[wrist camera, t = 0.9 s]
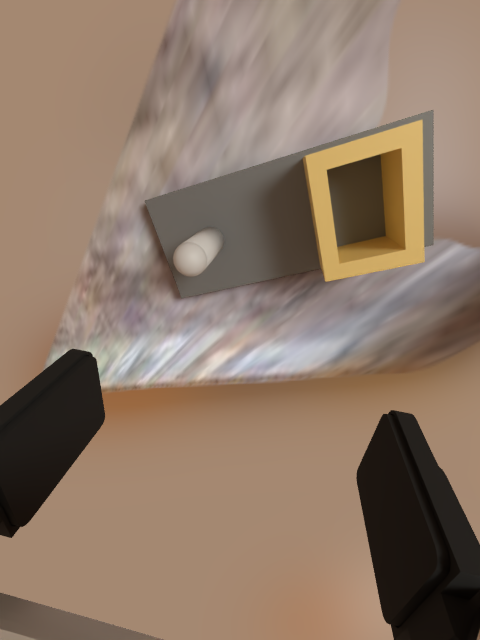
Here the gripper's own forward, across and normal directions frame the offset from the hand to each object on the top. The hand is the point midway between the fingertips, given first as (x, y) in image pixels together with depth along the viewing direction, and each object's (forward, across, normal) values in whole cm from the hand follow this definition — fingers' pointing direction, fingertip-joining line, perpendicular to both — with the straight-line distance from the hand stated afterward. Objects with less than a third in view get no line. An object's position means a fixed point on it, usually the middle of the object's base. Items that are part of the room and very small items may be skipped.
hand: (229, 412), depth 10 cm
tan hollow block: (+21, -6, -5) cm, 22 cm away
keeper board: (+22, 0, -3) cm, 22 cm away
